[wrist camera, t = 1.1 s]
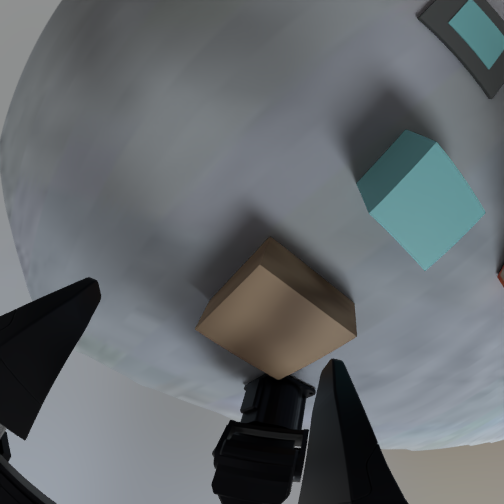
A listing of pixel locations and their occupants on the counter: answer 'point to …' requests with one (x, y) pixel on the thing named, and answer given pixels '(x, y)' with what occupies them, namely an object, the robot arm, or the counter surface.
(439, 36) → the tile
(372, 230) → the counter surface
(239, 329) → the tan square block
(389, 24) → the counter surface
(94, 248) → the counter surface
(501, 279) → the cracker box
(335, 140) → the counter surface
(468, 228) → the teal cube
